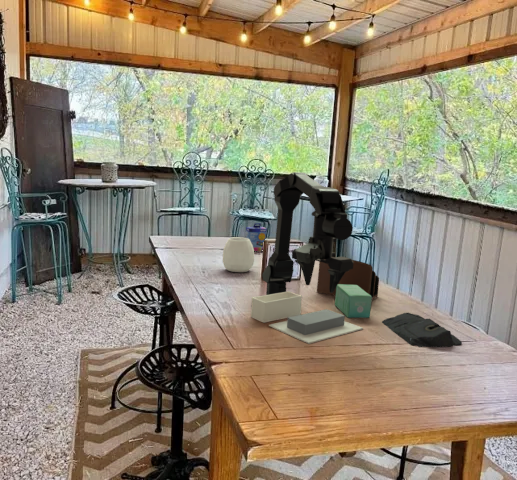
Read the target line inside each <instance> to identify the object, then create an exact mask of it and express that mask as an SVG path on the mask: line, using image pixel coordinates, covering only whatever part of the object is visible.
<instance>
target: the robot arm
mask: <svg viewBox="0 0 517 480" xmlns="http://www.w3.org/2000/svg"><path fill="white" fill-rule="evenodd" d="M303 194H304V195H305V196H307V197H308V198H309V203H310V205H311V206H312V207H313V209H314V211H312V213H311V216H312V217H313V231H312V236H310V237H309V238H308V242H307V243H306V244H303V245H301V246H300V247H298V248H294V249H293V250H292V252H291V256H290V246H291V236H292V235H291V234H292V226H293V225H292V224H293V217H294V210H295V209H296V208H297V206H298V205H299V204H300V200H301V196H302V195H303ZM273 196H274V199H273V200H274V202H275V203H274V204H276V206H277V208H278V209H277V210H278V211H277V221H276V231H275V240H274V241H275V242H274V251H273V253H272V254H271V255H270V257H269V259H268V261H267V265H266V268H265V269H264V271H263V272H262V281H264V282H265V283H266V293H265V295H270V294H276V293H282V292H287V283H291V282H292V278H293V274H294V264H295V263H297V264H298V265H299V266H300V268H301V271H302V274H303V278H304V282H305V285H306V286H310V284H311V281H312V277H313V272H314V269H315V264H316V262H318V263H319V262H323V263H327V264H328V266H329V268H330V269H327V270H328V272H329V273H330V286H329V289H330V293H333V292H334V290H335V288H336V286H337V285H338V283H339V281H340V280H341V278H342V277H343V275H344V274H345V273H346V272H347V271H349V270H350V269H353V261H352V260H353V259H352V258H349V257H345V256H338V257H337V256H336V252H333V250H334V249H333V248H334V243H336V242H337V240H340V241H344V240H347V239H349V238H350V237H351V235H352V233H353V230H354V229H353V228H354V227H353V224H352V222H351V221H350V220H349V218H348V214H347V213H346V207H345V204H344V202H343V199H342V195H341V193H340V191H339V190H338V189H336V188H334V187H328V186H323V185H322V184H320V183H319V182H317V181H316V180H314V179H313V178H311V177H310V176H308V174H307V173H305V172H295V171H293V172H291V173H290V174H288V176H286V177H284V178H282V179H280V180H278V182H277V183H276V184H275V186H274V187H273ZM332 257H334V258H332ZM292 259H293V260H292ZM324 259H326V260H324Z"/></svg>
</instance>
